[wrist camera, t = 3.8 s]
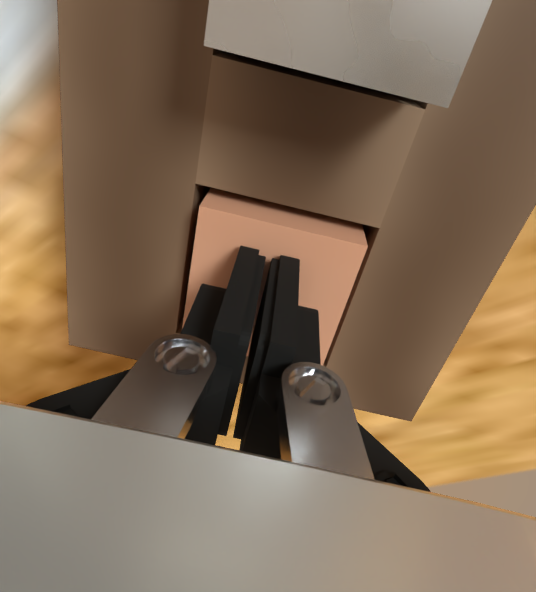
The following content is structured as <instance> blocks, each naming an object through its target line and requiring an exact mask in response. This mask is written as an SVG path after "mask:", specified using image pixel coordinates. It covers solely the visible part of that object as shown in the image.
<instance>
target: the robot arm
mask: <svg viewBox="0 0 536 592" xmlns="http://www.w3.org/2000/svg"><path fill="white" fill-rule="evenodd" d="M265 260H266V257H265V256H261V255H259V250H258V249H254V248H250V247H246V246H240V249H239V252H238V255H237V258H236V261H235V264H234V267H233V270H232V273H231V277H230V280H229V283H228V286H227V289H225V288H221V287H216V286H212V285H208V284H201V286H200V289H199V291H198V293H197V296H196V298H195V300H194V303H193V305H192V307H191V310H190V312H189V314H188V317H187V319H186V321H185V324H184V326H183V328H182V331H181V333H180V334H172V335H166V336H163V337H161V338H159V339H156V340H155V341H154V342H153V343H152V344H151V345H150V346H149V347H148V348H147V349H146V351H145V352H144V353H143V355H142V356H141V357H140V358H139V360H138V361H137V362H136V363H135V365H134V366H133V367H132V368H131V369H129V370H126V371H123V372H120V373H117V374H114V375H111V376H108V377H105V378H102V379H99V380H96V381H93V382H90V383H87V384H84V385H81V386H78V387H75V388H72V389H69V390H66V391H63V392H60V393H57V394H54V395H51V396H48V397H45V398H42V399H39V400H37V401H35V402H33V403H30V404H28V405H27V406H23V405H18V404H13V403H8V402H3V401H0V592H536V517H532V516H528V515H524V514H520V513H516V512H512V511H508V510H504V509H500V508H497V507H493V506H489V505H485V504H481V503H477V502H473V501H468V500H463V499H459V498H454V497H450V496H445V495H441V494H437V493H432V492H430V490H429V489H428V488H427V487H426V486H425V484H424V483H423V482H422V481H421V480H420V479H419V478H418V477H417V476H416V475H414V474H413V473H412V472H411V471H410V470H409V469H408V468H407V467H406V466H405V465H404V464H403V463H401V462H400V461H399V460H398V459H397V458H396V457H395V456H394V455H393V454H392V453H391V452H389V451H388V450H387V449H386V448H385V447H384V446H383V445H382V444H381V443H380V442H379V441H377V440H376V439H375V438H374V437H373V436H372V435H371V434H370V433H369V432H368V431H367V430H365V429H364V428H363V427H362V426H361V425H360V424H359V423H358V422H357V420H356V417H355V413H354V410H353V407H352V403H351V400H350V397H349V394H348V390H347V388H346V386H345V384H344V382H343V380H342V379H341V378H340V377H339V376H338V375H337V374H336V373H334V372H333V371H332V370H330V369H329V368H327V367H324V366H322V365H321V360H320V335H319V313H318V310H316V309H312V308H308V307H303V306H299V305H298V301H299V272H300V259H297V258H292V257H288V256H284V255H280V258H279V260H278V259H274V258H272V260H271V263H270V267H269V271H268V275H267V279H266V283H265V287H264V291H263V295H262V299H261V303H260V307H259V311H258V315H257V319H256V323H255V327H254V331H253V335H252V339H251V344H250V349H249V354H248V360H247V365H246V371H245V376H244V381H243V387H242V392H241V397H240V403H239V408H238V414H237V419H236V424H235V430H234V435H233V438H238V439H241V444H240V450H234V449H230V448H225V447H220V446H215V443H216V439H217V434H219V435H224V436H226V435H227V431H228V427H229V423H230V419H231V415H232V411H233V407H234V403H235V399H236V395H237V391H238V387H239V383H240V379H241V375H242V371H243V367H244V363H245V359H246V355H247V351H248V347H249V343H250V338H251V334H252V329H253V323H254V318H255V313H256V307H257V302H258V297H259V291H260V286H261V281H262V276H263V270H264V265H265Z"/></svg>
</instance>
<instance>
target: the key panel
mask: <svg viewBox="0 0 536 592" xmlns="http://www.w3.org/2000/svg"><path fill="white" fill-rule="evenodd" d="M57 6H58V35H59V65H60V95H61V124H62V154H63V183H64V213H65V242H66V272H67V301H68V331H69V345H73V346H77V347H82V348H86V349H90V350H95V351H99V352H104V353H108V354H113V355H117V356H122V357H126V358H131V359H135V360H139V358H140V357H141V356H142V355H143V353H144V352H145V351H146V349H147V348H148V347H149V346H150V345H151V344H152V343H153V342H154V341H155V340H156V339H159V338H161V337H163V336H166V335H172V334H180V333H181V331H182V325H183V318H184V311H185V304H186V297H187V290H188V283H189V276H190V269H191V262H192V254H193V247H194V240H195V233H196V226H197V219H198V212H199V206H200V204H201V203H202V201H203V199H204V198H205V196H206V195H207V193H208V192H209V190H210V189H211V187H212V188H216V189H220V190H224V191H228V192H232V193H237V194H241V195H245V196H249V197H253V198H257V199H261V200H265V201H270V202H274V203H278V204H282V205H286V206H290V207H294V208H298V209H303V210H307V211H311V212H315V213H319V214H323V215H327V216H331V217H336V218H340V219H344V220H348V221H352V222H356V223H360V224H362V226H363V230H364V234H365V237H366V241H367V245H368V248H367V250H366V253H365V256H364V258H363V261H362V263H361V266H360V269H359V271H358V274H357V277H356V279H355V282H354V285H353V287H352V290H351V293H350V295H349V298H348V300H347V303H346V306H345V308H344V311H343V314H342V316H341V319H340V322H339V324H338V327H337V330H336V332H335V335H334V337H333V340H332V343H331V345H330V348H329V351H328V353H327V356H326V359H325V361H324V364H323V366H324V367H327V368H329V369H330V370H332V371H333V372H334V373H336V374H337V375H338V376H339V377H340V378H341V379H342V380H343V382H344V384H345V386H346V388H347V390H348V394H349V397H350V400H351V403H352V407H353V408H354V409H358V410H363V411H367V412H371V413H376V414H380V415H385V416H389V417H394V418H398V419H403V420H407V421H412V419H413V417H414V416H415V414H416V412H417V410H418V409H419V407H420V405H421V403H422V402H423V400H424V398H425V396H426V395H427V393H428V391H429V390H430V388H431V386H432V384H433V383H434V381H435V379H436V377H437V376H438V374H439V372H440V370H441V369H442V367H443V365H444V363H445V362H446V360H447V358H448V356H449V355H450V353H451V351H452V349H453V348H454V346H455V344H456V343H457V341H458V339H459V337H460V336H461V334H462V332H463V330H464V329H465V327H466V325H467V323H468V322H469V320H470V318H471V316H472V315H473V313H474V311H475V309H476V308H477V306H478V304H479V303H480V301H481V299H482V297H483V296H484V294H485V292H486V290H487V289H488V287H489V285H490V283H491V282H492V280H493V278H494V276H495V275H496V273H497V271H498V269H499V268H500V266H501V264H502V262H503V261H504V259H505V257H506V256H507V254H508V252H509V250H510V249H511V247H512V245H513V243H514V242H515V240H516V238H517V236H518V235H519V233H520V231H521V229H522V228H523V226H524V224H525V222H526V221H527V219H528V217H529V215H530V214H531V212H532V210H533V209H534V207H535V205H536V0H492V2H491V5H490V7H489V10H488V12H487V15H486V17H485V20H484V22H483V24H482V27H481V29H480V32H479V34H478V37H477V39H476V41H475V44H474V46H473V49H472V51H471V54H470V56H469V59H468V61H467V63H466V66H465V68H464V71H463V73H462V76H461V78H460V80H459V83H458V85H457V88H456V90H455V93H454V95H453V98H452V100H451V102H450V105H449V107H448V108H445V107H441V106H437V105H433V104H429V103H425V102H421V101H418V100H414V99H410V98H406V97H402V96H398V95H394V94H390V93H386V92H382V91H378V90H375V89H371V88H367V87H363V86H359V85H355V84H351V83H347V82H343V81H339V80H335V79H332V78H328V77H324V76H320V75H316V74H312V73H308V72H304V71H300V70H296V69H293V68H289V67H285V66H281V65H277V64H273V63H269V62H265V61H261V60H257V59H253V58H250V57H246V56H242V55H238V54H234V53H230V52H226V51H222V50H218V49H214V48H211V47H207V46H204V39H205V31H206V23H207V14H208V6H209V0H57ZM247 360H248V356H246V359H245V363H244V367H243V371H242V375H241V379H240V383H242V384H243V381H244V376H245V371H246V365H247Z"/></svg>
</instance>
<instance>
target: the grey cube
mask: <svg viewBox="0 0 536 592" xmlns="http://www.w3.org/2000/svg"><path fill="white" fill-rule="evenodd" d="M491 2H492V0H209V6H208V14H207V23H206V31H205V39H204V46H207V47H211V48H214V49H218V50H222V51H226V52H230V53H234V54H238V55H242V56H246V57H250V58H253V59H257V60H261V61H265V62H269V63H273V64H277V65H281V66H285V67H289V68H293V69H296V70H300V71H304V72H308V73H312V74H316V75H320V76H324V77H328V78H332V79H335V80H339V81H343V82H347V83H351V84H355V85H359V86H363V87H367V88H371V89H375V90H378V91H382V92H386V93H390V94H394V95H398V96H402V97H406V98H410V99H414V100H418V101H421V102H425V103H429V104H433V105H437V106H441V107H445V108H448V107H449V105H450V102H451V100H452V98H453V95H454V93H455V90H456V88H457V85H458V83H459V80H460V78H461V76H462V73H463V71H464V68H465V66H466V63H467V61H468V59H469V56H470V54H471V51H472V49H473V46H474V44H475V41H476V39H477V37H478V34H479V32H480V29H481V27H482V24H483V22H484V20H485V17H486V15H487V12H488V10H489V7H490V5H491Z"/></svg>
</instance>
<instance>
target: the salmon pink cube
mask: <svg viewBox="0 0 536 592" xmlns="http://www.w3.org/2000/svg"><path fill="white" fill-rule="evenodd" d="M240 246H246V247H250V248H254V249H258V250H259V255H261V256H265V257H266V260H265V265H264V270H263V276H262V281H261V286H260V291H259V297H258V302H257V307H256V313H255V318H254V323H253V329H252V334H251V338H250V343H249V347H248V351H247V355H246V356H248V354H249V349H250V344H251V339H252V335H253V331H254V327H255V323H256V319H257V315H258V311H259V307H260V303H261V299H262V295H263V291H264V287H265V283H266V279H267V275H268V271H269V267H270V263H271V260H272V258H274V259H278V260H279V258H280V255H284V256H288V257H292V258H297V259H300V272H299V301H298V305H299V306H303V307H308V308H312V309H316V310H318V313H319V335H320V360H321V365H322V366H323V364H324V361H325V359H326V356H327V353H328V351H329V348H330V345H331V343H332V340H333V337H334V335H335V332H336V330H337V327H338V324H339V322H340V319H341V316H342V314H343V311H344V308H345V306H346V303H347V300H348V298H349V295H350V293H351V290H352V287H353V285H354V282H355V279H356V277H357V274H358V271H359V269H360V266H361V263H362V261H363V258H364V256H365V253H366V250H367V248H368V245H367V241H366V237H365V234H364V230H363V226H362V224H360V223H356V222H352V221H348V220H344V219H340V218H336V217H331V216H327V215H323V214H319V213H315V212H311V211H307V210H303V209H298V208H294V207H290V206H286V205H282V204H278V203H274V202H270V201H265V200H261V199H257V198H253V197H249V196H245V195H241V194H237V193H232V192H228V191H224V190H220V189H216V188H212V187H211V189H210V190H209V192H208V193H207V195H206V196H205V198H204V199H203V201H202V203H201V204H200V206H199V212H198V219H197V226H196V233H195V240H194V247H193V254H192V262H191V269H190V276H189V283H188V290H187V297H186V304H185V311H184V318H183V325H182V328H183V326H184V324H185V321H186V319H187V317H188V314H189V312H190V310H191V307H192V305H193V303H194V300H195V298H196V296H197V293H198V291H199V289H200V286H201V284H208V285H212V286H216V287H221V288H225V289H227V286H228V283H229V280H230V277H231V273H232V270H233V267H234V264H235V261H236V258H237V255H238V252H239V249H240Z"/></svg>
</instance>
